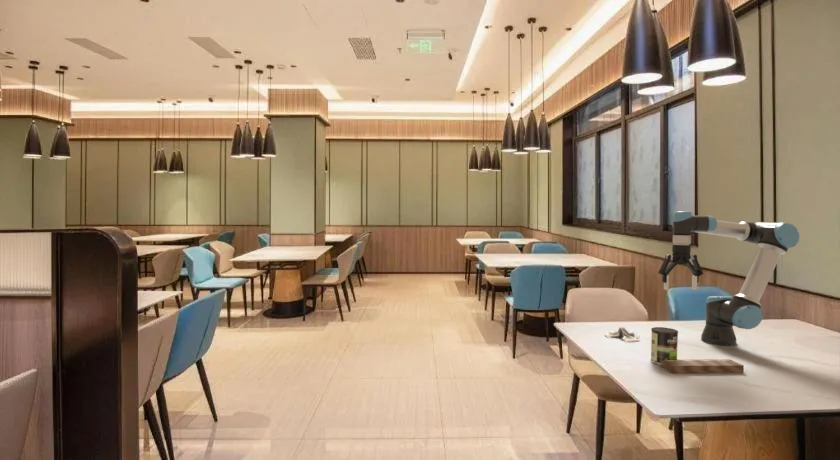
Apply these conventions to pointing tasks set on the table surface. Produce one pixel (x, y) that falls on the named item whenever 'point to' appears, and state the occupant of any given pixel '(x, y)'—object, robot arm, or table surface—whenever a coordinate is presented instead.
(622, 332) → the cloth
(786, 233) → the robot arm
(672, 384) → the table surface
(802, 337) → the table surface
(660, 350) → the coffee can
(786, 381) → the table surface
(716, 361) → the walnut plank
